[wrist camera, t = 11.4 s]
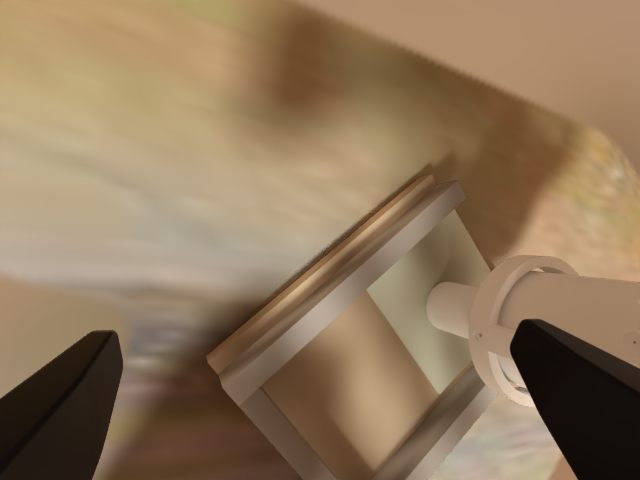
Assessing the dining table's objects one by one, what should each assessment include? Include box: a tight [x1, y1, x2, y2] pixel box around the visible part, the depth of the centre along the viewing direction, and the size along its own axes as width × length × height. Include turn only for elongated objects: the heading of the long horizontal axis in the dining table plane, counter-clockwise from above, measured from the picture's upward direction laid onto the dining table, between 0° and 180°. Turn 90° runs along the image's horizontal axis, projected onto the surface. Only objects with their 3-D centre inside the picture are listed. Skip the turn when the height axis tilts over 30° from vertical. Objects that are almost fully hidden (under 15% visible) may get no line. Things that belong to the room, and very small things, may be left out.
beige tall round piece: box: [426, 255, 640, 407], centre depth 17 cm, size 7×7×15 cm
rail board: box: [206, 174, 509, 480], centre depth 22 cm, size 17×14×3 cm
